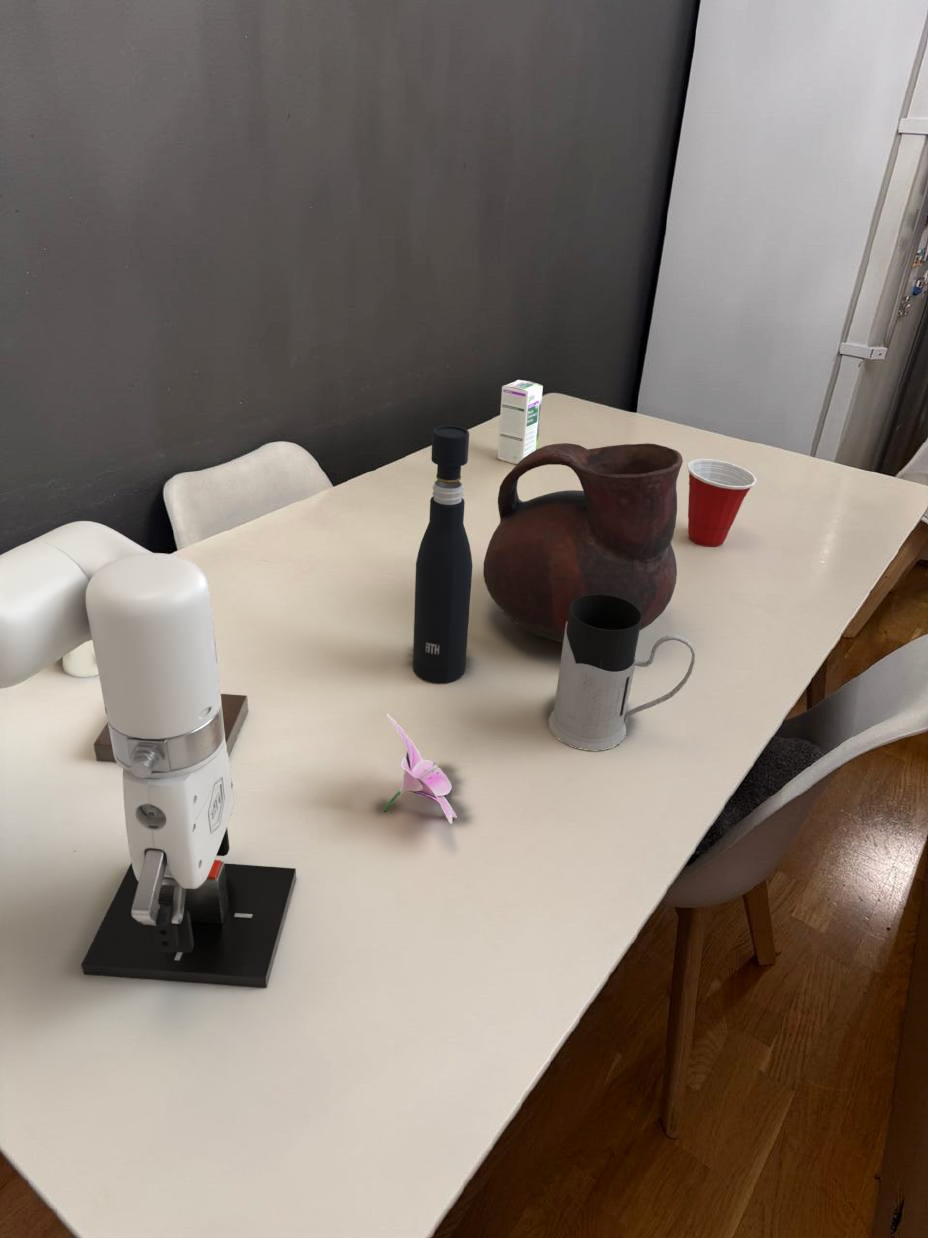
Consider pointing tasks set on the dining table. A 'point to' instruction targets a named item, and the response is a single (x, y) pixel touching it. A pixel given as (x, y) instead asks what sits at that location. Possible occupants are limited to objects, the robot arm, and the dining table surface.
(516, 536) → the jug
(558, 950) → the dining table surface
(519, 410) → the syrup box
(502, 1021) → the dining table surface
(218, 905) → the hob knob
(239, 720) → the switch block
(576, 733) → the glass holder
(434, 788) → the lily
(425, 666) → the black insulated flask
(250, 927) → the panel
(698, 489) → the plastic cup
